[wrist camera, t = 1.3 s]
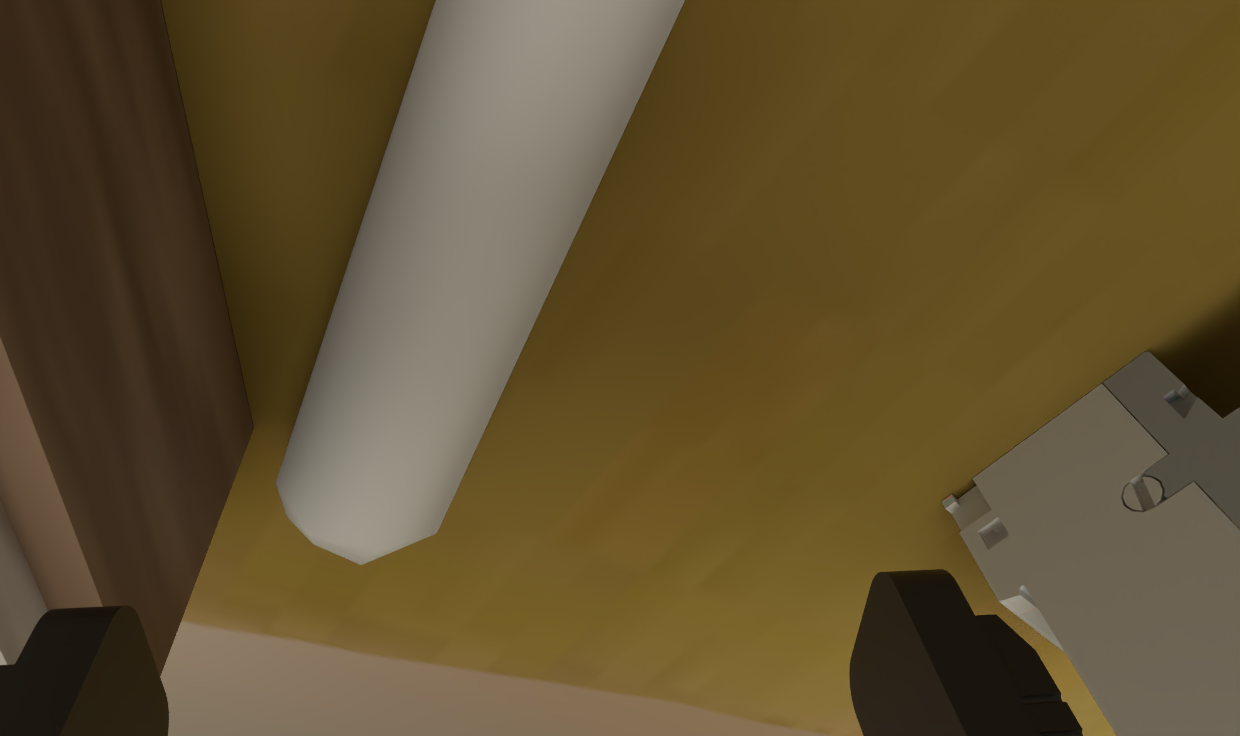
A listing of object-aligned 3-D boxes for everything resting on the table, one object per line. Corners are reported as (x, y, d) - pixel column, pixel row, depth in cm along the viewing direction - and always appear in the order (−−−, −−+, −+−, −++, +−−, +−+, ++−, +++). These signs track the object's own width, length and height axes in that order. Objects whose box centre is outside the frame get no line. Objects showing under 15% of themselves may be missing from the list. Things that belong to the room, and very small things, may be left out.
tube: (451, 596, 27) (947, -396, 15) (262, 602, 24) (694, -618, 12) (411, 469, 31) (786, -413, 19) (242, 461, 28) (561, -587, 16)
